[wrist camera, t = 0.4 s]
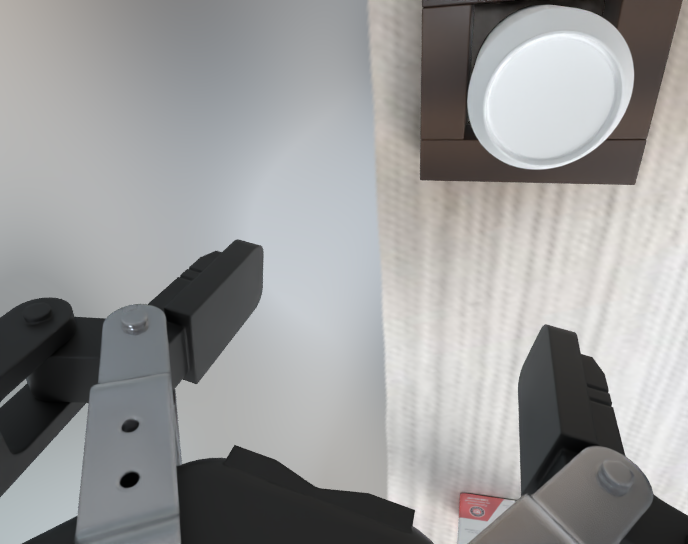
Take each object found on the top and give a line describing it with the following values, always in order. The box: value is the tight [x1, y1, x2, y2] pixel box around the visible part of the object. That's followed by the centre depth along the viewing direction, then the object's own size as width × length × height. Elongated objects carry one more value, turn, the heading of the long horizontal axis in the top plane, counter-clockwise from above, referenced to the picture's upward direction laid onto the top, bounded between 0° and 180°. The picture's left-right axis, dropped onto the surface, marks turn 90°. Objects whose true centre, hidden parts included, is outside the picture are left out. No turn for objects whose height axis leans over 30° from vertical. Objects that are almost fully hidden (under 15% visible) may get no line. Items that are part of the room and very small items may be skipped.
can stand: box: [420, 0, 683, 185], centre depth 25 cm, size 12×12×4 cm
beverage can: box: [467, 5, 634, 169], centre depth 22 cm, size 6×6×12 cm
